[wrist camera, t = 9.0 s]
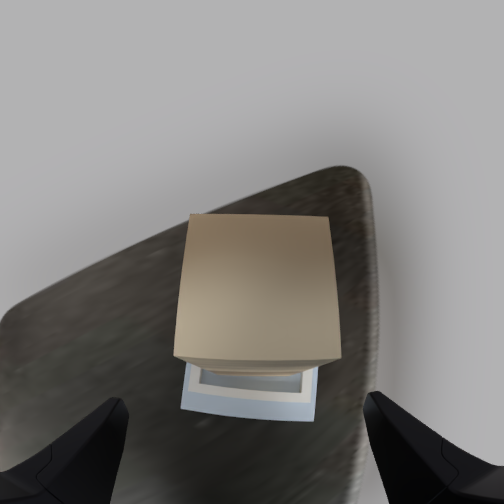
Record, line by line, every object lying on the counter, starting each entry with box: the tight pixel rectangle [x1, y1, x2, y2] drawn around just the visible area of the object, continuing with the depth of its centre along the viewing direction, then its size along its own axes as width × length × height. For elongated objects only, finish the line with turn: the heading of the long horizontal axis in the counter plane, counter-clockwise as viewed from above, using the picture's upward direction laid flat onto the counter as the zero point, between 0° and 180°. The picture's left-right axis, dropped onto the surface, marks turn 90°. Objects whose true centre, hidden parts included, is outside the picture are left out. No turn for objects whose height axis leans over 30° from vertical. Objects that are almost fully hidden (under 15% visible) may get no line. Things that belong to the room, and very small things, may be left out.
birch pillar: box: [174, 214, 341, 376], centre depth 13 cm, size 4×4×11 cm
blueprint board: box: [181, 362, 318, 421], centre depth 18 cm, size 10×8×2 cm
